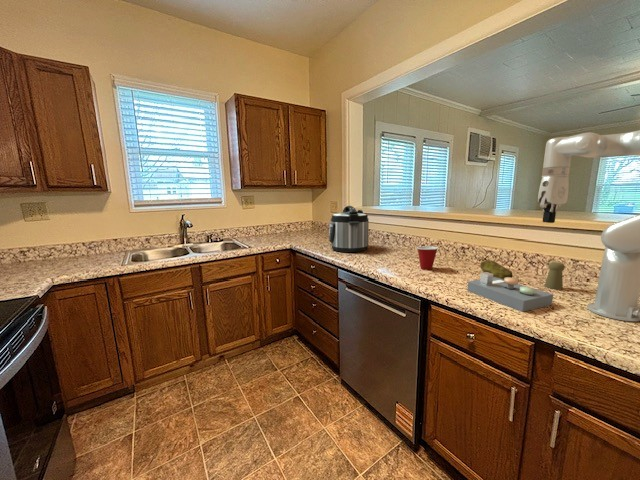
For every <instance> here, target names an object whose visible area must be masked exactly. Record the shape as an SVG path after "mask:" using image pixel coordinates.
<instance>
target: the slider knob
mask: <svg viewBox="0 0 640 480" xmlns="http://www.w3.org/2000/svg"><path fill="white" fill-rule="evenodd" d="M479 280H480V282H481V283H484V284H492V281H493V274H492V273H488V272H480V279H479Z"/></svg>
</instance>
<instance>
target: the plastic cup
mask: <svg viewBox="0 0 640 480" xmlns="http://www.w3.org/2000/svg"><path fill="white" fill-rule="evenodd" d="M416 249H417V253H418V260H419V267H420V269H421V270H424V271H431V270H432V269H433V266H434V262H435V259H436V254H437V251H438V249H439V247H437V246H427V245H426V246H425V245H424V246H423V245H422V246H421V245H420V246H417V247H416Z"/></svg>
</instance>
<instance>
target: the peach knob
mask: <svg viewBox="0 0 640 480" xmlns="http://www.w3.org/2000/svg"><path fill="white" fill-rule="evenodd" d="M504 283H507V284H508V285H507V289H509V290H513V289H514V285H518V284H519V279H518V278H515V277H512V278H510V277H506V278H504Z"/></svg>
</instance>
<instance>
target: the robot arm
mask: <svg viewBox="0 0 640 480" xmlns="http://www.w3.org/2000/svg"><path fill="white" fill-rule="evenodd" d="M573 156H576V157H577V156H578V157H583V158H589V159H590V158H593V159H594V158H596V159H597V158H611V157H613V158H614V157H628V156H629V157H630V156H638V157H639V156H640V129H639V130H634V131H628V132H622V133H612V134H601V135H600V134H599V133H595V132H592V131H591V132H583V133H582V132H581V133H578V134H573V135H571V136H559V137H553V138H550V139H548V140H547V141H546V142H545V150H544V158H543V164H542V165H543V166H542V173H541V180H540V185H539V190H538V194H537V202H538V204H539V207H540V208H542V212H543V214H542V215H543V216H542V222H543V223H546V224H547V223H549V224H553V223H555V222H556V216H557V212H558V208H560V207H562V205H564V204H566V203H568V199H569V190H570V189H569V187H570V183H569V182H570V181H569V177H570V176H569V175H570V170H571V162H572V157H573ZM600 240H601V241H600V242H602V244H603V246H604V251H603V255H602V260H601V265H600V270H599V277H598V283H597V289H596V293H595V299H594V302H590V303H588V304H587V310H589V311H590V312H592V313H595V314H597V315H600V316H602V317H605V318H609V319H611V320H612V319H613V320H618V321H624V322H625V321H626V322H640V303H639V301H640V214H637V215H634V216H630V217H629V218H628V217H627V218H626V219H622V220H619V221H617V222H613V223H611V224H610V225H608V226H607V227H605V228H604V229H603V230H602V232H601V236H600Z"/></svg>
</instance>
